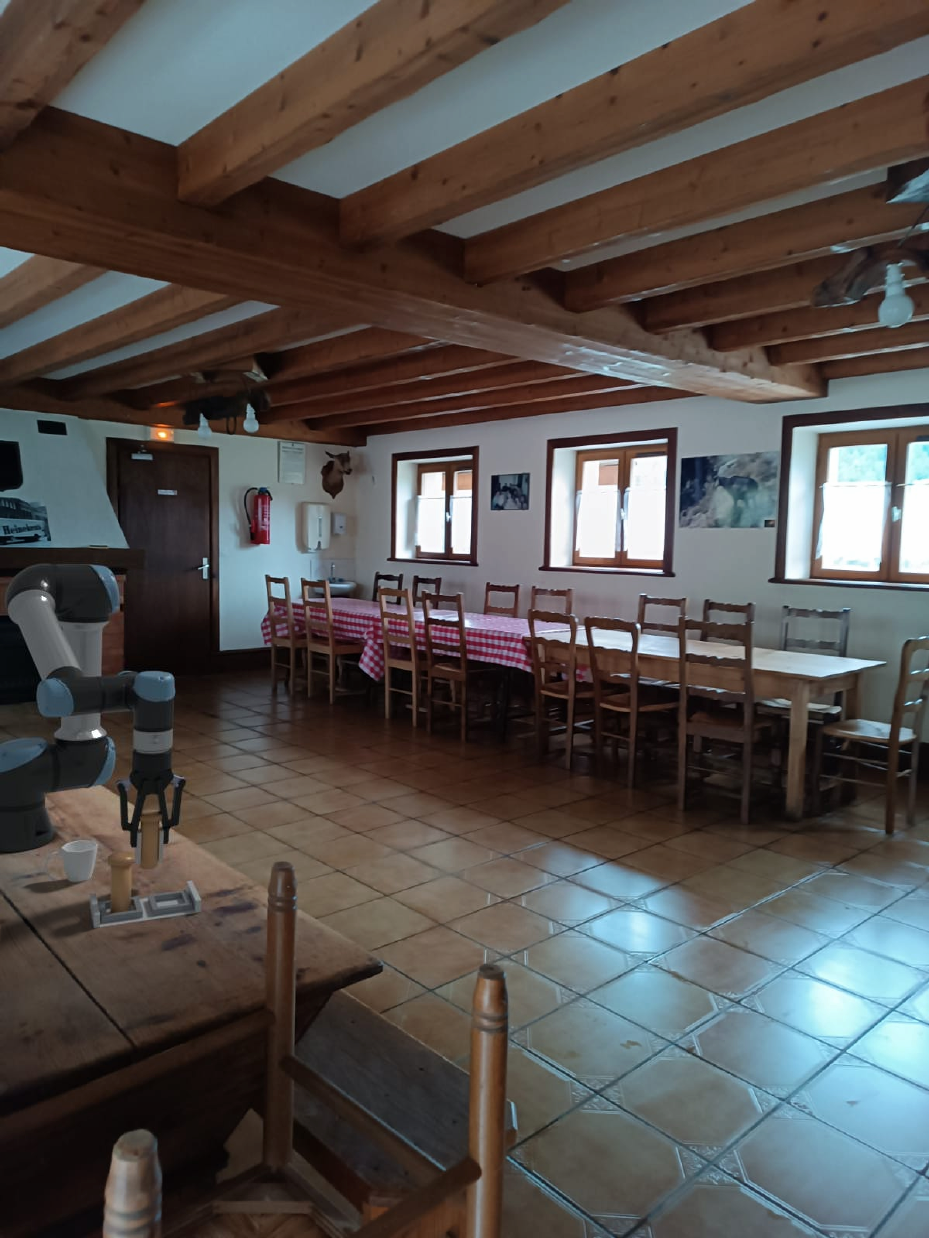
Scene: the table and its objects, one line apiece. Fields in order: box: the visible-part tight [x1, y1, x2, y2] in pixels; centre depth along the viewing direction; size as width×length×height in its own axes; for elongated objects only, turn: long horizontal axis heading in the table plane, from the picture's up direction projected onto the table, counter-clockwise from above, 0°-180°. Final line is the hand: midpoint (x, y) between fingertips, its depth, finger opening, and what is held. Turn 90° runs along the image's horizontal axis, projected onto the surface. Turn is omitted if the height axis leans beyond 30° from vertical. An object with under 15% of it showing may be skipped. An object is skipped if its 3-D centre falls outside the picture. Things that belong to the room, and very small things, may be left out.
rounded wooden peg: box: [107, 851, 136, 914], centre depth 162 cm, size 5×5×11 cm
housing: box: [89, 880, 202, 929], centre depth 164 cm, size 10×19×4 cm, turn 118°
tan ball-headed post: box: [138, 809, 162, 870], centre depth 174 cm, size 5×5×11 cm
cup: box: [44, 839, 99, 883], centre depth 176 cm, size 7×10×8 cm
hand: (148, 860), depth 174 cm, fingers closed on tan ball-headed post, 3 cm apart
